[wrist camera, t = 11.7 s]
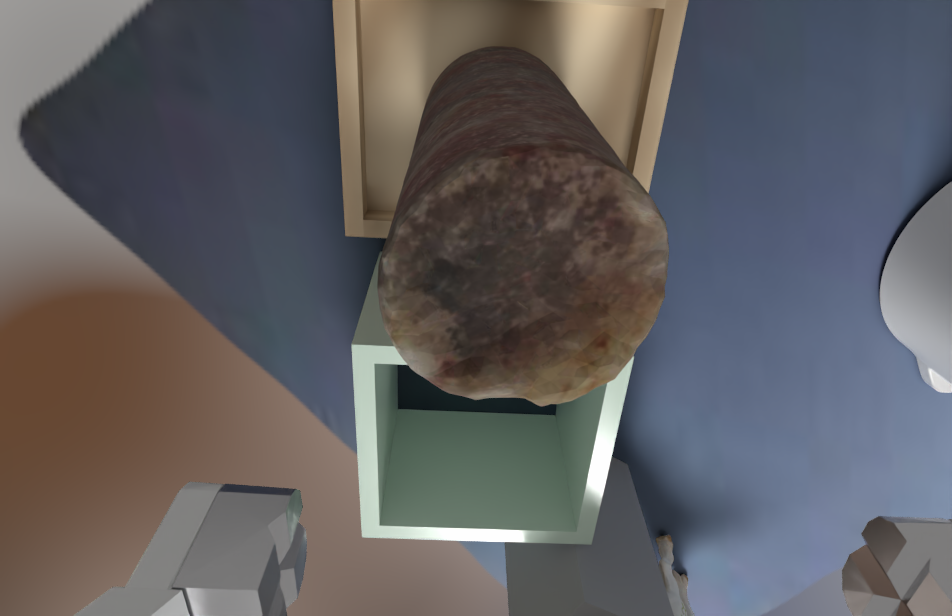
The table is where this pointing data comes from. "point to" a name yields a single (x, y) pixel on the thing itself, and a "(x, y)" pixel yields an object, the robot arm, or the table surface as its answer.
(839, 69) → the table surface
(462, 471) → the mint green open box
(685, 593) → the unicorn figurine
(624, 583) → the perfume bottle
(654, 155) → the tray
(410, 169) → the wooden log
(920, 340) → the robot arm
